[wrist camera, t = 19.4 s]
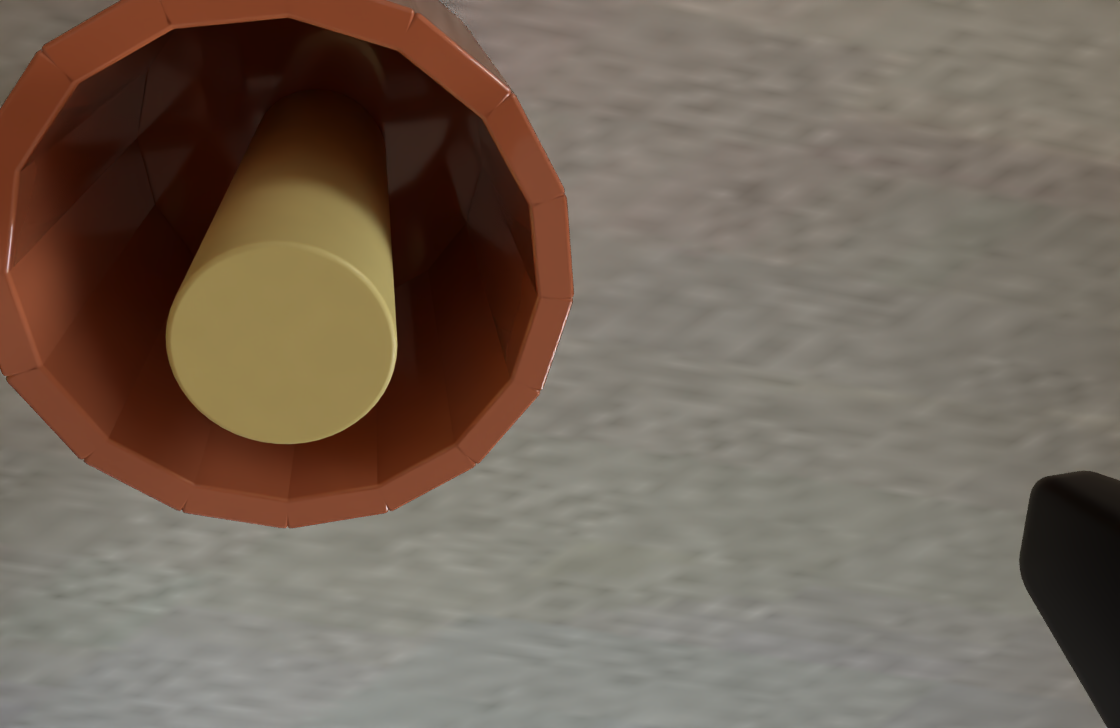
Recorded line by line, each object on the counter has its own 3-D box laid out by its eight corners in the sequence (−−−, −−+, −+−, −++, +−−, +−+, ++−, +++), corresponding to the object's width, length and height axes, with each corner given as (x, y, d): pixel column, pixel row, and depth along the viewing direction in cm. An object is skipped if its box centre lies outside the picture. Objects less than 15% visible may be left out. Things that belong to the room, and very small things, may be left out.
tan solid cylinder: (375, 81, 16) (378, 228, 9) (394, 208, 17) (411, 429, 10) (240, 96, 16) (137, 258, 9) (269, 224, 17) (196, 462, 10)
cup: (479, -75, 16) (550, -55, 10) (517, 288, 19) (588, 481, 13) (69, -39, 15) (-138, 8, 9) (174, 335, 18) (71, 566, 12)
